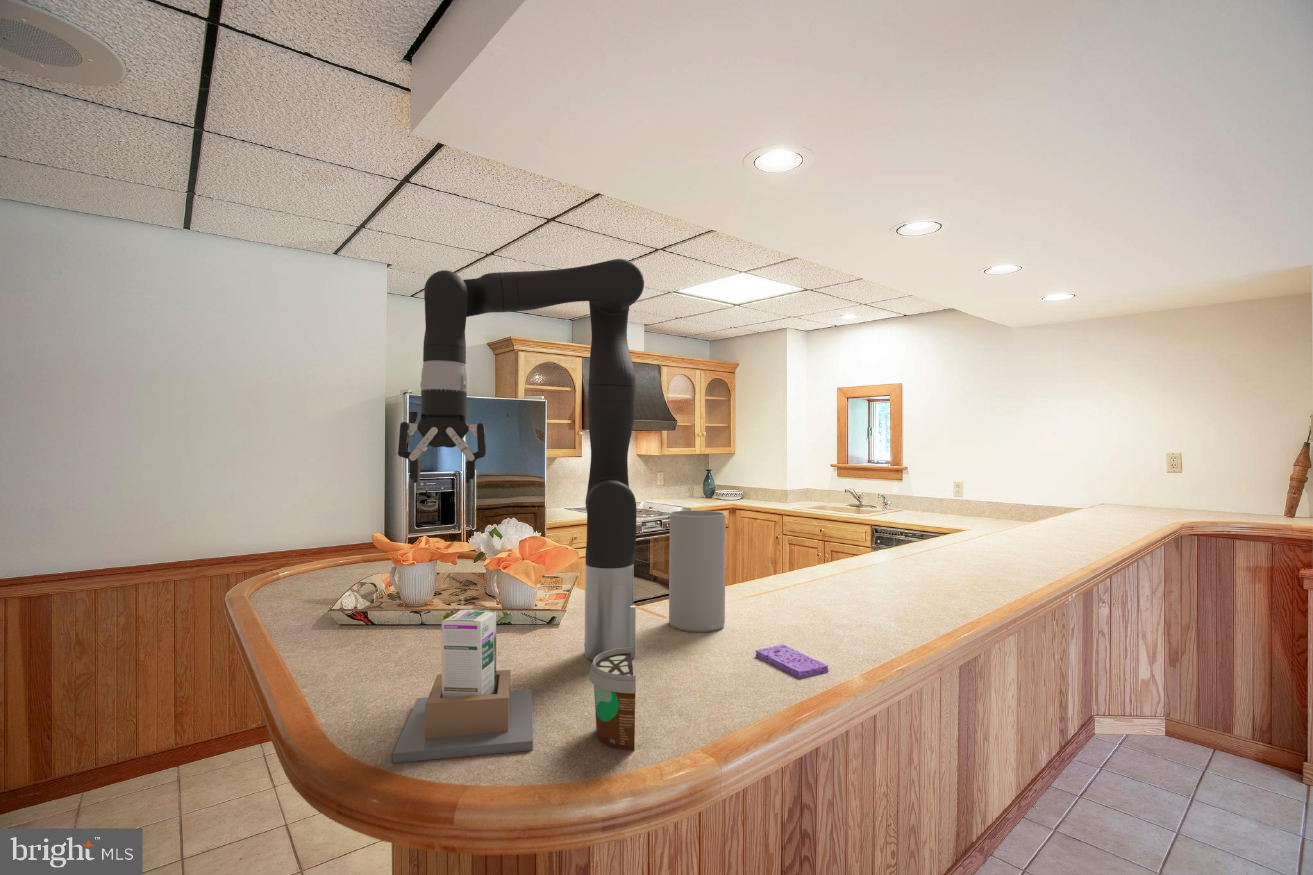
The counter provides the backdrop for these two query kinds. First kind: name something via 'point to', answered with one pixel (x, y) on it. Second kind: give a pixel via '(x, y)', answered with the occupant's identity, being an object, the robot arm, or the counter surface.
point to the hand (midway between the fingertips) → (442, 482)
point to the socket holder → (467, 724)
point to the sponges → (791, 661)
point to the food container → (614, 698)
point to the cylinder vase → (697, 570)
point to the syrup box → (469, 653)
